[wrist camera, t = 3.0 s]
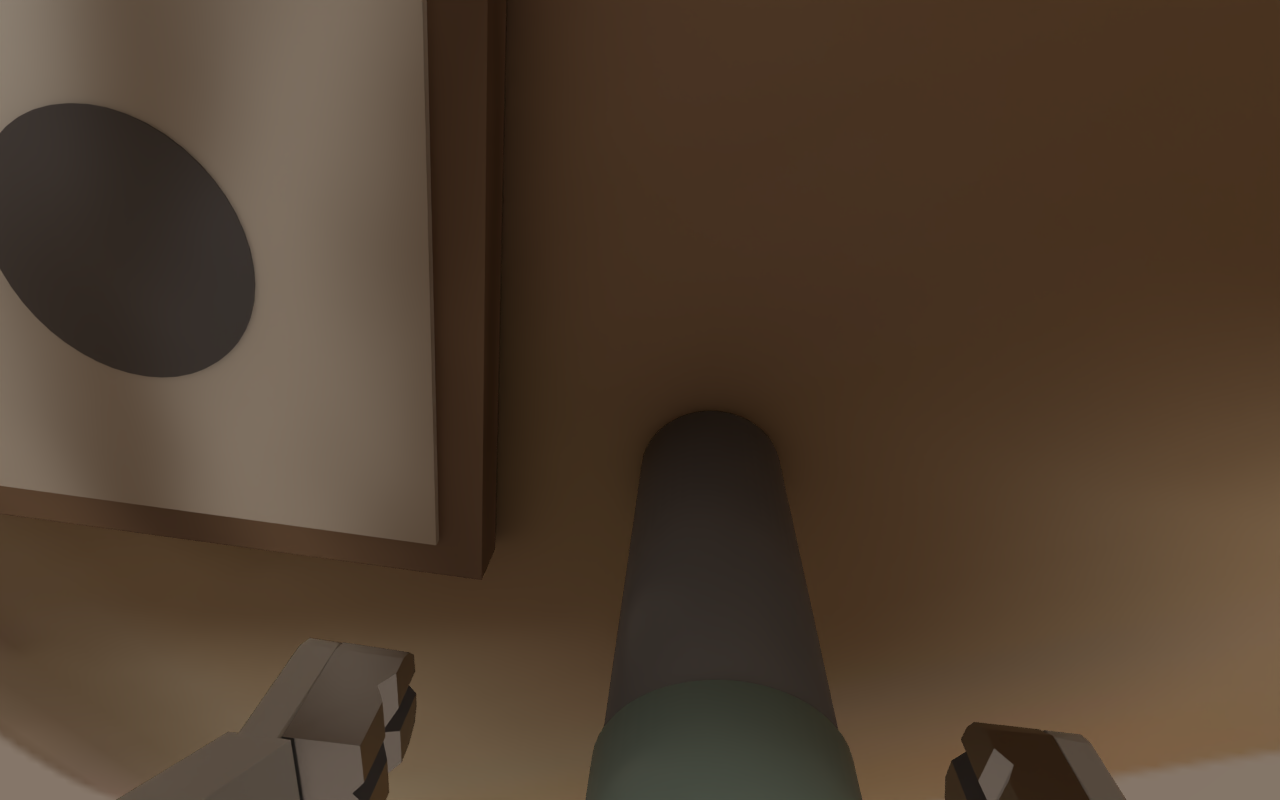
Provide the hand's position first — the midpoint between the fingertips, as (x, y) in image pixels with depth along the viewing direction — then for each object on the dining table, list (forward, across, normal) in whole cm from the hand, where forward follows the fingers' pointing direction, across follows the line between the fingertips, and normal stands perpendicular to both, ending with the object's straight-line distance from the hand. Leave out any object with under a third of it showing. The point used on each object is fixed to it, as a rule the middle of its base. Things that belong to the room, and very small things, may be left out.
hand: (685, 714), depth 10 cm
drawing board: (+7, +11, -4) cm, 14 cm away
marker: (+6, -1, 0) cm, 7 cm away
